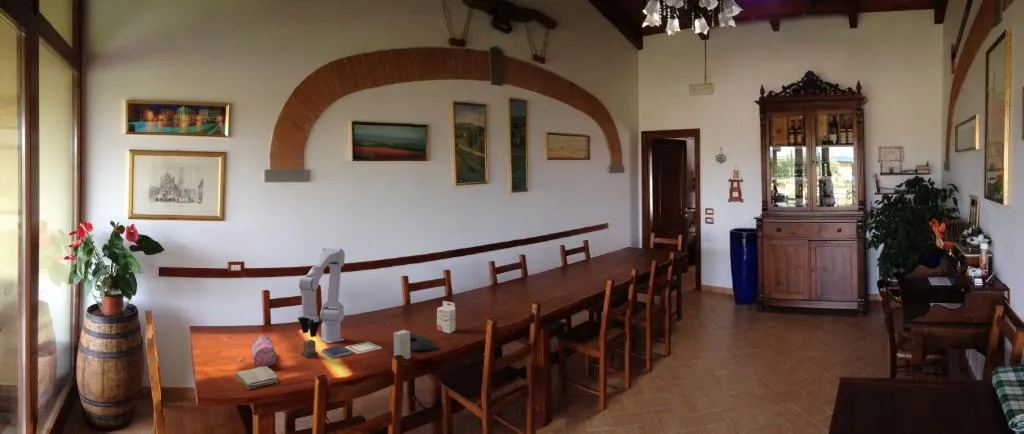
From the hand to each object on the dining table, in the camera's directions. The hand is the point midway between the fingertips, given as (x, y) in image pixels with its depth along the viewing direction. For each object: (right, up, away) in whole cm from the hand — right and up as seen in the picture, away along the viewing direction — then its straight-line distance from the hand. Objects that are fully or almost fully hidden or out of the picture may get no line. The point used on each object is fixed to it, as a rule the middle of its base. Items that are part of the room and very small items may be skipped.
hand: (309, 334), depth 261 cm
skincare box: (+41, -11, -1) cm, 42 cm away
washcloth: (-11, -13, -28) cm, 33 cm away
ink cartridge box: (+55, -7, +43) cm, 70 cm away
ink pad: (+11, -9, +4) cm, 15 cm away
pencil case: (-17, -10, -7) cm, 21 cm away
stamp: (0, -9, +1) cm, 9 cm away
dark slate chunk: (+44, -9, +18) cm, 49 cm away
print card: (+21, -9, +12) cm, 26 cm away
